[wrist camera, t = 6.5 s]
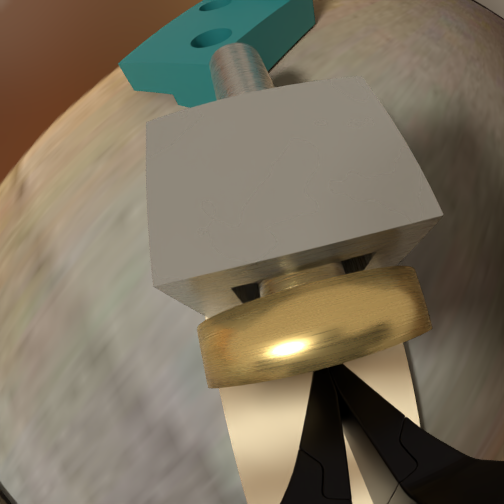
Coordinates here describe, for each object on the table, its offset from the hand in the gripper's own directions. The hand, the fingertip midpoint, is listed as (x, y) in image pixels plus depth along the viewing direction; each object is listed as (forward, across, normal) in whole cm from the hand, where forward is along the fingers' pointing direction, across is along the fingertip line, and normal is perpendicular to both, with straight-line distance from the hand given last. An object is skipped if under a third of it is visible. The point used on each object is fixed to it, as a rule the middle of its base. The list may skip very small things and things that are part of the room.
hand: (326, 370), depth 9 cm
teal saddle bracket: (+26, -1, -15) cm, 30 cm away
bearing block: (+8, 0, 0) cm, 8 cm away
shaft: (+10, 0, -3) cm, 10 cm away
